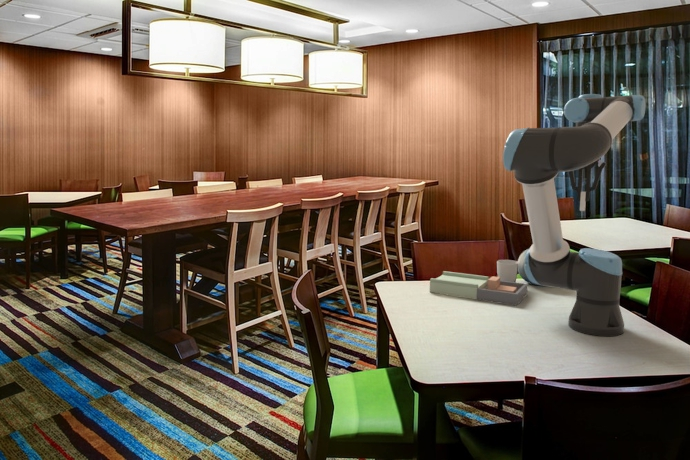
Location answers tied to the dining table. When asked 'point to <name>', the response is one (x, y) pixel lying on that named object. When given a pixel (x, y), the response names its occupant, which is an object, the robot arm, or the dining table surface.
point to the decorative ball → (521, 267)
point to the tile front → (507, 289)
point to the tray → (503, 294)
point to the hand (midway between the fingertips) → (582, 210)
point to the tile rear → (493, 283)
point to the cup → (507, 270)
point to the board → (458, 284)
